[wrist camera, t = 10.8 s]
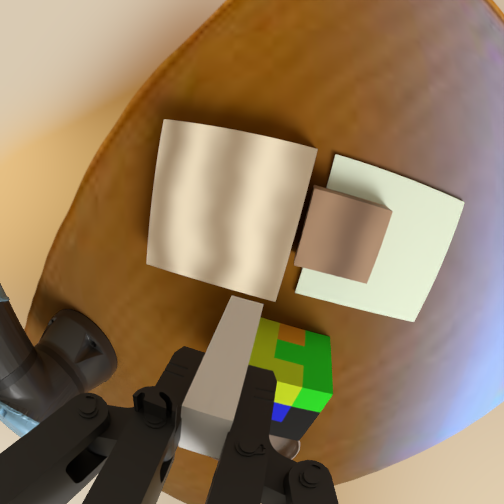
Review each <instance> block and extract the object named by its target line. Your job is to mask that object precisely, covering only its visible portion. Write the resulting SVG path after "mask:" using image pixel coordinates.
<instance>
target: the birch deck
mask: <svg viewBox="0 0 504 504" xmlns="http://www.w3.org/2000/svg"><path fill="white" fill-rule="evenodd" d="M317 150H318V149H316V148H312V147H309V146H305V145H301V144H297V143H293V142H289V141H285V140H281V139H277V138H272V137H268V136H263V135H259V134H254V133H249V132H244V131H239V130H234V129H228V128H223V127H217V126H211V125H205V124H199V123H192V122H185V121H177V120H168V119H164V121H163V127H162V132H161V138H160V144H159V150H158V157H157V163H156V170H155V178H154V186H153V194H152V203H151V212H150V223H149V234H148V247H147V263H146V264H148V265H151V266H155V267H158V268H161V269H164V270H167V271H170V272H174V273H177V274H180V275H183V276H187V277H190V278H193V279H197V280H200V281H203V282H207V283H210V284H213V285H217V286H220V287H224V288H227V289H231V290H234V291H238V292H241V293H245V294H248V295H252V296H256V297H259V298H263V299H266V300H270V301H274V302H276V298H277V295H278V292H279V288H280V285H281V282H282V278H283V275H284V271H285V268H286V265H287V261H288V258H289V254H290V251H291V247H292V244H293V240H294V237H295V233H296V229H297V226H298V222H299V219H300V215H301V211H302V208H303V204H304V200H305V196H306V193H307V189H308V185H309V181H310V177H311V174H312V170H313V166H314V162H315V158H316V154H317Z"/></svg>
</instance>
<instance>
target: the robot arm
mask: <svg viewBox="0 0 504 504" xmlns="http://www.w3.org/2000/svg"><path fill="white" fill-rule="evenodd" d="M263 305H264V304H261V303H258V302H254V301H250V300H247V299H243V298H240V297H236V296H231V298H230V300H229V302H228V304H227V307H226V309H225V311H224V313H223V315H222V318H221V320H220V322H219V324H218V326H217V329H216V331H215V333H214V335H213V338H212V340H211V342H210V344H209V346H208V349H207V351H206V353H204V352H201V351H198V350H195V349H192V348H188V347H185V346H184V347H182V348H181V349H179V350H178V351H176V352H175V353H174V354H173V356H172V358H171V360H170V361H169V364H168V365H167V367H166V368H165V371H164V372H163V373H162V375H161V377H160V379H159V380H158V382H157V384H156V386H151V387H144V388H142V389H139V390H137V391H136V392H135V393H134V394H133V401H134V407H132V408H123V407H116V406H110V405H107V403H106V402H105V401H104V400H103V398H102V397H100V396H98V395H96V394H93V393H87V392H88V391H90V390H92V389H94V388H95V387H97V386H99V385H100V384H102V383H103V382H106V381H107V380H109V379H110V377H111V376H112V375H113V373H114V372H115V371H116V369H117V358H116V354H115V351H114V349H113V347H112V345H111V343H110V342H109V340H108V339H107V337H106V336H105V335H104V333H103V332H102V331H101V330H100V329H99V328H98V327H97V326H96V325H95V324H94V323H93V322H92V321H91V320H90V319H88V318H87V317H85V316H84V315H82V314H81V313H79V312H76V311H74V310H70V309H64V310H61V311H59V312H58V313H57V314H56V315H54V316H53V317H52V318H51V320H50V321H49V323H48V326H47V327H46V329H45V331H44V333H43V335H42V337H41V339H40V341H39V343H38V344H37V345H36V346H35V347H34V346H33V345H32V343H31V341H30V340H29V338H28V336H27V335H26V333H25V331H24V329H23V328H22V326H21V324H20V322H19V320H18V318H17V316H16V314H15V312H14V310H13V308H12V307H11V304H10V302H9V297H7V296H6V294H5V292H4V290H3V288H2V286H1V284H0V420H1V421H2V422H3V423H4V424H5V425H6V426H7V427H8V428H10V429H11V430H12V431H13V432H14V433H16V434H17V435H18V436H20V437H21V438H20V439H19V440H17V441H16V442H15V443H14V444H12V445H11V446H10V447H8V448H7V449H6V450H4V451H3V452H2V453H0V504H67V503H68V502H69V501H70V500H71V499H72V498H73V497H74V496H75V495H76V494H77V493H78V492H79V491H81V489H83V488H84V487H85V486H86V485H87V484H88V483H89V482H90V481H91V480H92V479H93V478H94V477H95V476H96V475H97V474H98V473H99V474H98V476H97V478H96V480H95V481H94V483H93V485H92V487H91V489H90V490H89V493H88V494H87V496H86V498H85V499H84V501H83V503H82V504H156V502H157V500H158V497H159V495H160V493H161V490H162V488H163V485H164V483H165V480H166V478H167V476H168V473H169V471H170V468H171V466H172V463H173V461H174V455H175V451H176V448H177V446H178V444H179V447H182V448H185V449H188V450H191V451H194V452H197V453H200V454H204V455H207V456H210V457H214V458H217V459H219V461H218V465H217V468H216V471H215V473H214V476H213V479H212V483H211V487H210V490H209V493H208V496H207V500H206V503H205V504H260V503H262V504H338V500H337V496H336V492H335V489H334V485H333V481H332V477H331V474H330V472H329V470H328V469H327V468H326V467H325V466H324V465H323V464H321V463H319V462H317V461H312V460H305V461H300V462H298V463H297V462H295V461H293V460H291V459H289V458H287V457H285V456H283V455H281V454H280V453H278V452H277V451H276V450H275V449H274V448H273V446H272V444H271V442H270V439H269V432H270V426H271V420H272V413H273V407H274V400H275V392H276V386H277V380H276V377H275V374H274V372H273V371H272V370H268V369H264V368H260V367H256V366H252V365H248V364H249V360H250V356H251V352H252V348H253V344H254V341H255V337H256V333H257V329H258V325H259V321H260V317H261V313H262V309H263Z"/></svg>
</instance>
